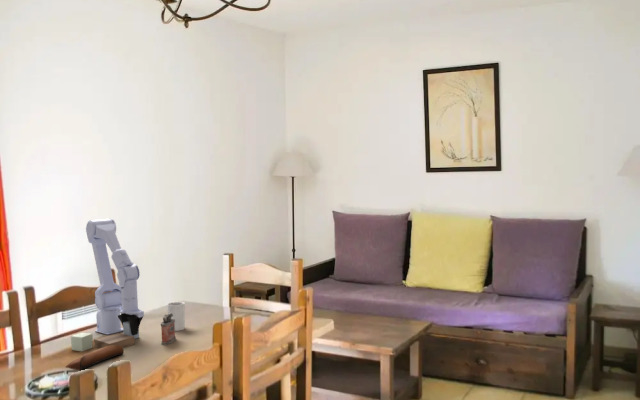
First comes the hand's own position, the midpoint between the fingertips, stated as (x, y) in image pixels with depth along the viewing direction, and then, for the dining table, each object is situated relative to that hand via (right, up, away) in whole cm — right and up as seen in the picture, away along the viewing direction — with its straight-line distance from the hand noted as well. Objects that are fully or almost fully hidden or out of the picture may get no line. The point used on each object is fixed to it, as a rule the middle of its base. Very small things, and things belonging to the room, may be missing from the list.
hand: (131, 333), depth 231 cm
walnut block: (-3, -3, -9) cm, 10 cm away
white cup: (+15, -1, +11) cm, 19 cm away
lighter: (+16, -2, -6) cm, 17 cm away
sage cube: (-14, -3, -12) cm, 18 cm away
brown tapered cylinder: (-4, -4, -27) cm, 27 cm away
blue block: (0, -2, 0) cm, 2 cm away
